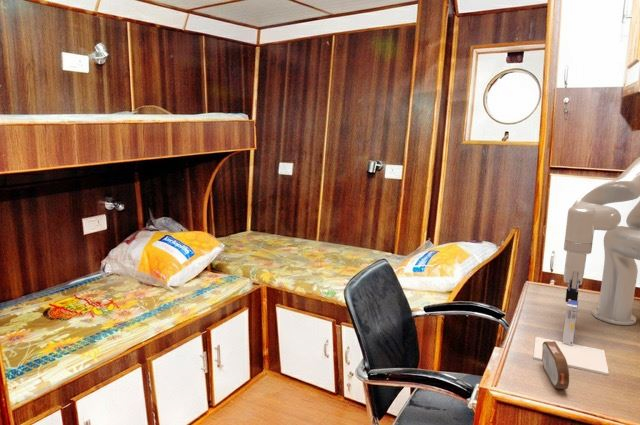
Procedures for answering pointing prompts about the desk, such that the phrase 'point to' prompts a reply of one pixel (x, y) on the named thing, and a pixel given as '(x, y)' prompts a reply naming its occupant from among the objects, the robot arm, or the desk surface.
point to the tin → (555, 365)
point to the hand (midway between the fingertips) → (571, 302)
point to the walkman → (570, 322)
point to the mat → (576, 356)
